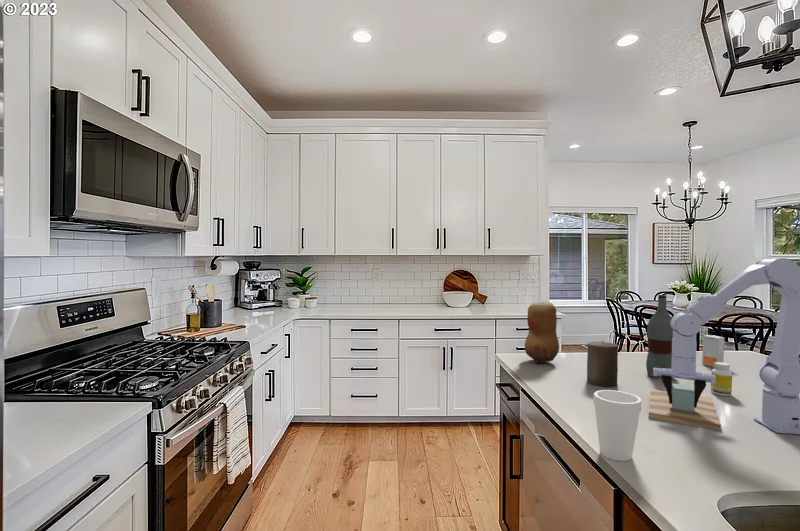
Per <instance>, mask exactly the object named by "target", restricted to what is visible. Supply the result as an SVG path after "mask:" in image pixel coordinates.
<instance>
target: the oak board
mask: <svg viewBox="0 0 800 531" xmlns="http://www.w3.org/2000/svg"><path fill="white" fill-rule="evenodd" d="M649 394H650V395H649V406H648V419H652V420H653V419H654V420H657V421H658V420H659V421H665V422H669V423H676V424H682V425H687V426H692V427H699V428H703V429H704V428H705V429H709V430H716V431H720V432H721V430H722V424H721V421H720V419H719V418H720V417H719V415H718V412H717V409H716V406H715V404H714V400H713V398H712V397H704V396H700V397H699V400H698V402H697V407H696V408H694V415H691V414H685V413H679V412H672V404H670V403H669V397H668V393H667V391H665V390H658V389H653V388H652V389H650V392H649Z"/></svg>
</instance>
